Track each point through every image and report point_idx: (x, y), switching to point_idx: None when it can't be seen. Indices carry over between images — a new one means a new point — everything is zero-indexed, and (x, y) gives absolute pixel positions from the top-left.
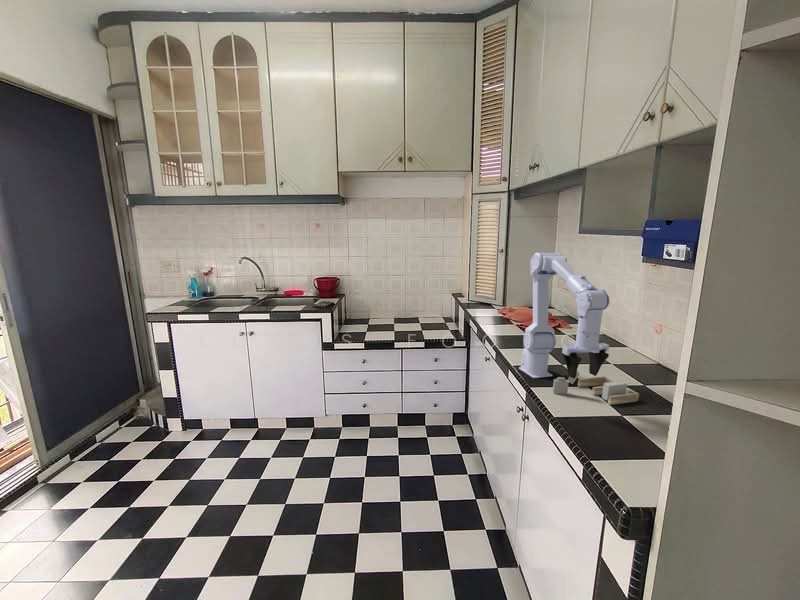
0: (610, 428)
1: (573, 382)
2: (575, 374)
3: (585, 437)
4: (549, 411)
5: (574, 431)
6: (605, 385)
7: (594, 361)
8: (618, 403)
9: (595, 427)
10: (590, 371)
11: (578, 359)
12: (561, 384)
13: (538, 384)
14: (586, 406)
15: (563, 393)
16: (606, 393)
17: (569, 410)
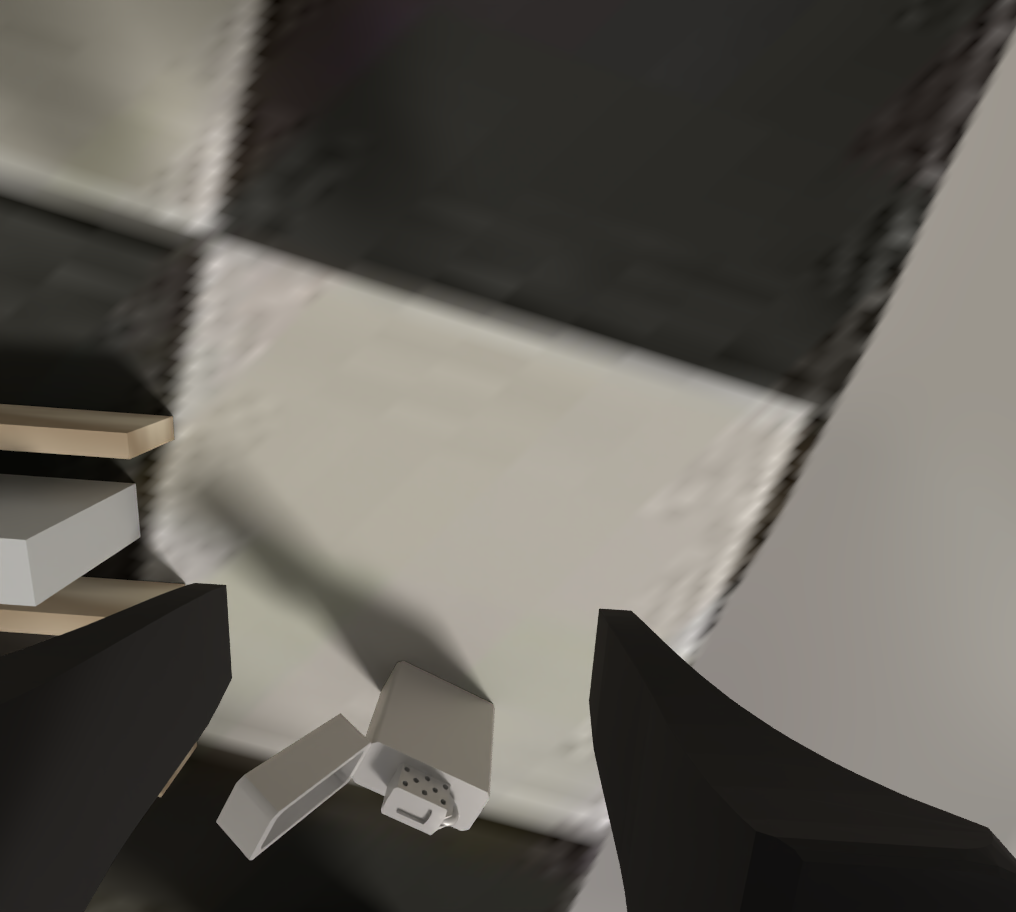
0: (498, 93)
1: (332, 722)
2: (632, 630)
3: (843, 44)
4: (773, 488)
5: (848, 159)
6: (43, 575)
7: (66, 802)
8: (72, 409)
9: (615, 152)
10: (215, 685)
11: (891, 833)
12: (439, 746)
13: (498, 853)
14: (395, 460)
15: (426, 678)
16: (95, 520)
17: (595, 451)
